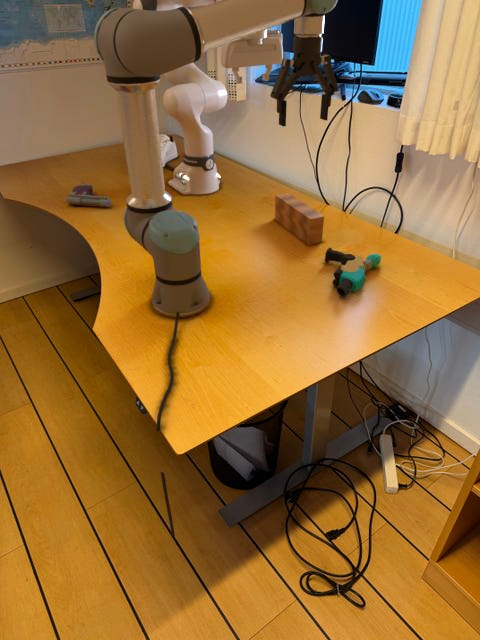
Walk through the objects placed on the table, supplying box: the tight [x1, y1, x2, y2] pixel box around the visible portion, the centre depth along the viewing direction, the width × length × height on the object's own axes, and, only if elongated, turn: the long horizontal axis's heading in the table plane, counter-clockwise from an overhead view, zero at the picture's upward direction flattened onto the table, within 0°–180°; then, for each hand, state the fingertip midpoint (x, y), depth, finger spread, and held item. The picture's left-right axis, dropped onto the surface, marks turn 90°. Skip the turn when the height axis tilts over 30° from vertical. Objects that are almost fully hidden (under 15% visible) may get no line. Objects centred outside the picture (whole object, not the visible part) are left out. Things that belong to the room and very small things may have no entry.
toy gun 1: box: [65, 184, 112, 208], centre depth 182 cm, size 4×19×15 cm
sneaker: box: [159, 133, 179, 168], centre depth 214 cm, size 10×29×12 cm, turn 163°
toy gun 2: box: [324, 247, 382, 299], centre depth 133 cm, size 4×26×15 cm
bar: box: [274, 192, 325, 246], centre depth 158 cm, size 22×5×9 cm, turn 26°
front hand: (303, 122), depth 135 cm, fingers open, 13 cm apart
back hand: (252, 82), depth 151 cm, fingers open, 8 cm apart
